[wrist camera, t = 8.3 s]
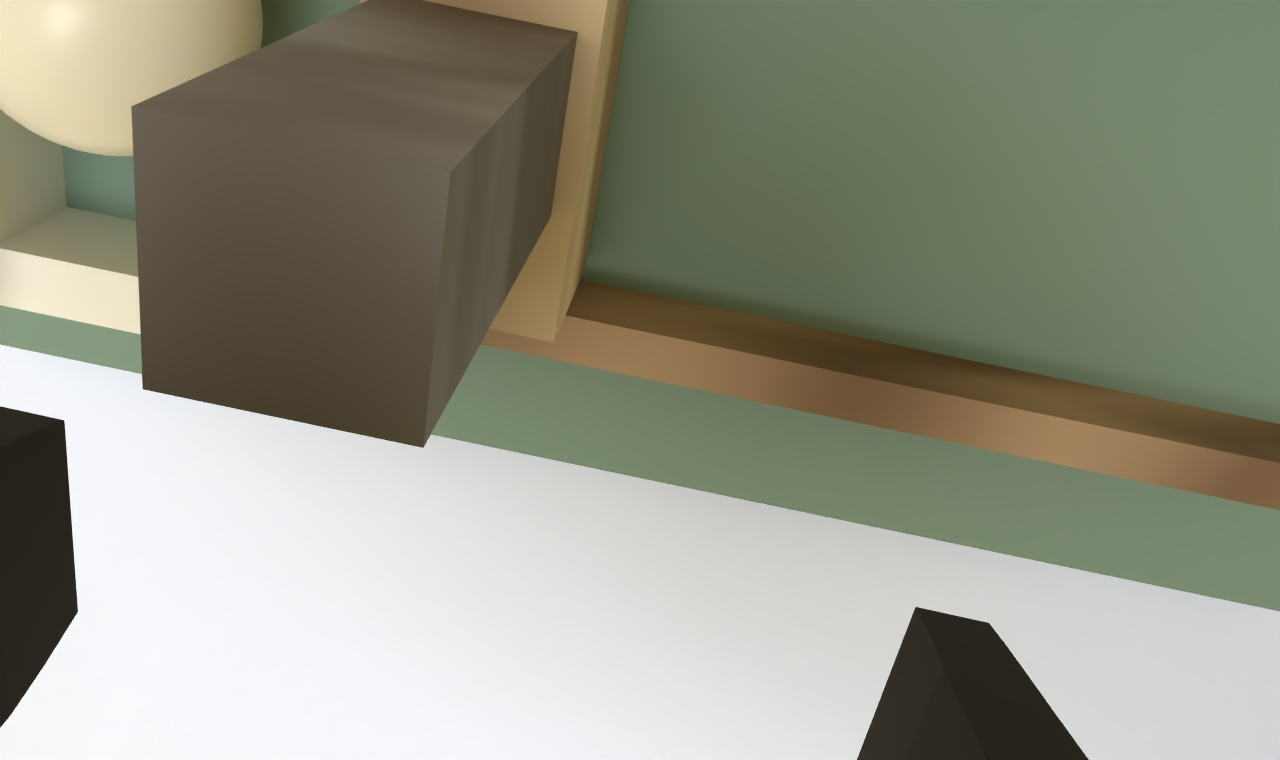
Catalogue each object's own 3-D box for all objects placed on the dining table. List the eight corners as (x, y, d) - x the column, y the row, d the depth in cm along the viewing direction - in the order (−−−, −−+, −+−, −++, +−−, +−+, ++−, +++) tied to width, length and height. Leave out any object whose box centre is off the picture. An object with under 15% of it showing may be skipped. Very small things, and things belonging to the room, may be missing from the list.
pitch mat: (1763, -268, 14) (1797, -271, 13) (1273, 595, 20) (1284, 612, 20) (-83, -634, 14) (-110, -648, 14) (14, 332, 21) (-2, 343, 20)
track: (1560, -51, 15) (1665, -34, 13) (1288, 457, 19) (1341, 523, 17) (499, -264, 15) (464, -274, 14) (443, 282, 19) (411, 329, 17)
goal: (506, -331, 15) (395, -394, 11) (440, 324, 20) (344, 471, 15) (-29, -438, 15) (-360, -545, 11) (31, 238, 20) (-183, 360, 15)
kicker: (651, -134, 15) (522, -83, 7) (586, 264, 18) (439, 621, 10) (439, -177, 15) (74, -172, 7) (406, 227, 18) (118, 553, 10)
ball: (144, -166, 17) (328, -112, 15) (153, 95, 18) (317, 169, 17) (-149, -192, 14) (41, -130, 12) (-104, 126, 15) (66, 219, 14)
